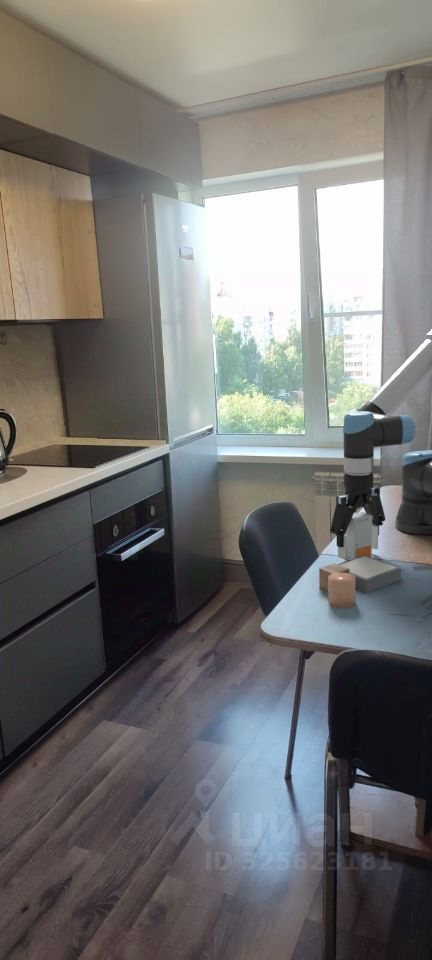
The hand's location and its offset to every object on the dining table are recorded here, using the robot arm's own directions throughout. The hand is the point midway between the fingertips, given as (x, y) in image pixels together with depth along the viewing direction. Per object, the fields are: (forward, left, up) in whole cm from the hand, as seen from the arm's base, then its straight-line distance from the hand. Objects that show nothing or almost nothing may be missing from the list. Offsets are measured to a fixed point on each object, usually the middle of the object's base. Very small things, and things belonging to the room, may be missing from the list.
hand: (358, 553), depth 178 cm
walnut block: (+18, +10, -2) cm, 21 cm away
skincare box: (0, 0, -2) cm, 2 cm away
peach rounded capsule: (+23, +17, -2) cm, 29 cm away
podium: (+9, +11, -2) cm, 14 cm away
